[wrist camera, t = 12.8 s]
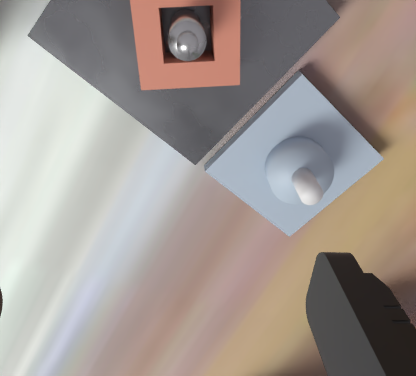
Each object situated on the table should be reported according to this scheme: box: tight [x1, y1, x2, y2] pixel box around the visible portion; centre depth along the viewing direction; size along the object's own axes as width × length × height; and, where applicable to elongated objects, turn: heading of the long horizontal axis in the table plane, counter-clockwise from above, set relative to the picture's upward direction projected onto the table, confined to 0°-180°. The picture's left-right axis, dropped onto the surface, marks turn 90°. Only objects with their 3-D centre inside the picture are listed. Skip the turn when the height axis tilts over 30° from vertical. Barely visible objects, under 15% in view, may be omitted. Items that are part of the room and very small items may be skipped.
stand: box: [204, 70, 384, 237], centre depth 29 cm, size 10×10×6 cm
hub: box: [28, 0, 340, 165], centre depth 23 cm, size 14×14×7 cm
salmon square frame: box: [130, 0, 240, 90], centre depth 24 cm, size 6×6×3 cm
